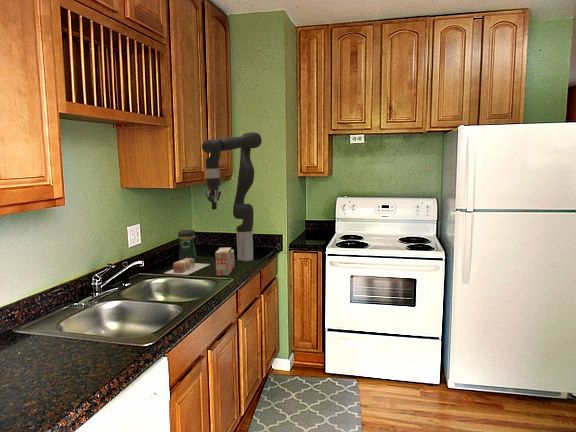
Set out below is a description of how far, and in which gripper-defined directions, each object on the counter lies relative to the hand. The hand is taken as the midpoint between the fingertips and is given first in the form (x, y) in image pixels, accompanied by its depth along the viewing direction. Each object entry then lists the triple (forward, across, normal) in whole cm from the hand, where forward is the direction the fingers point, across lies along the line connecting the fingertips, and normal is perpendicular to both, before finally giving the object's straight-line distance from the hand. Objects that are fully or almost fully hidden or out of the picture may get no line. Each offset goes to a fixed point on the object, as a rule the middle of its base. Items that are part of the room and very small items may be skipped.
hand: (214, 209), depth 235 cm
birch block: (+29, +8, -12) cm, 32 cm away
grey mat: (+32, +10, -12) cm, 36 cm away
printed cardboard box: (+32, +6, +9) cm, 34 cm away
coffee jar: (+32, -9, -24) cm, 41 cm away
